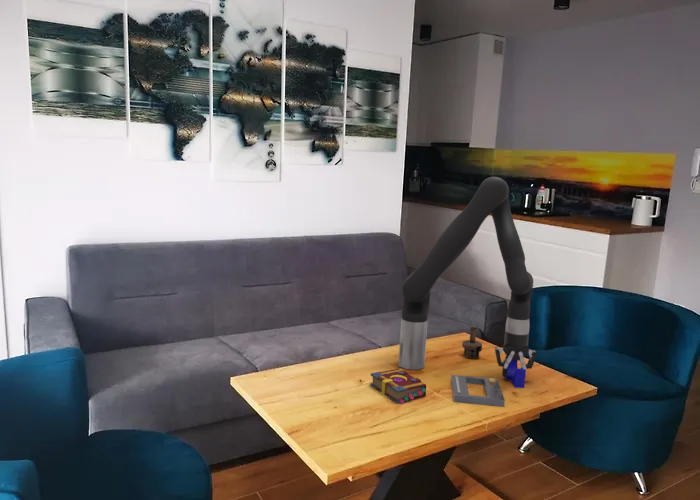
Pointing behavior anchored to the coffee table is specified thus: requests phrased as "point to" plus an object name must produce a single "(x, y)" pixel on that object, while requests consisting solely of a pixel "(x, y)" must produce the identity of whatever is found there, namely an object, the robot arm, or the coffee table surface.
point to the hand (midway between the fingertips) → (513, 378)
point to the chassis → (463, 395)
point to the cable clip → (516, 374)
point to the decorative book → (398, 385)
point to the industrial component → (472, 345)
